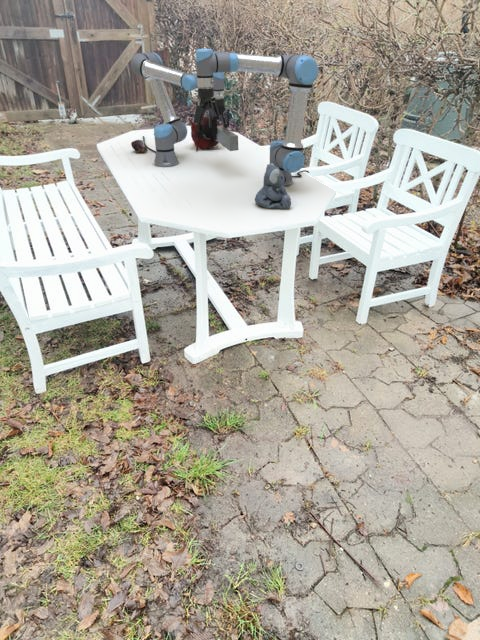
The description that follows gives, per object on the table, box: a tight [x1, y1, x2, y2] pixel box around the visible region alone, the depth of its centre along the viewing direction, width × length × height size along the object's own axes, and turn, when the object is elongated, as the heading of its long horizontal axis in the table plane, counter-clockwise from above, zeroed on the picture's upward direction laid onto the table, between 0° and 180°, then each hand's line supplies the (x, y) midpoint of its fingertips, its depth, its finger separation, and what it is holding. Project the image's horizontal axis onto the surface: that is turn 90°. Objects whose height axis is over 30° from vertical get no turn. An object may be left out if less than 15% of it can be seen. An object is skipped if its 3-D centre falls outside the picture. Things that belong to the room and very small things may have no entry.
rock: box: [130, 139, 149, 153], centre depth 317 cm, size 12×9×10 cm
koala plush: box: [254, 162, 292, 210], centre depth 225 cm, size 17×18×20 cm
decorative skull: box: [189, 116, 223, 152], centre depth 324 cm, size 21×24×25 cm
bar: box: [216, 125, 239, 152], centre depth 271 cm, size 32×5×8 cm, turn 19°
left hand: (219, 138), depth 283 cm, fingers closed on bar, 5 cm apart
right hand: (207, 136), depth 220 cm, fingers open, 13 cm apart
